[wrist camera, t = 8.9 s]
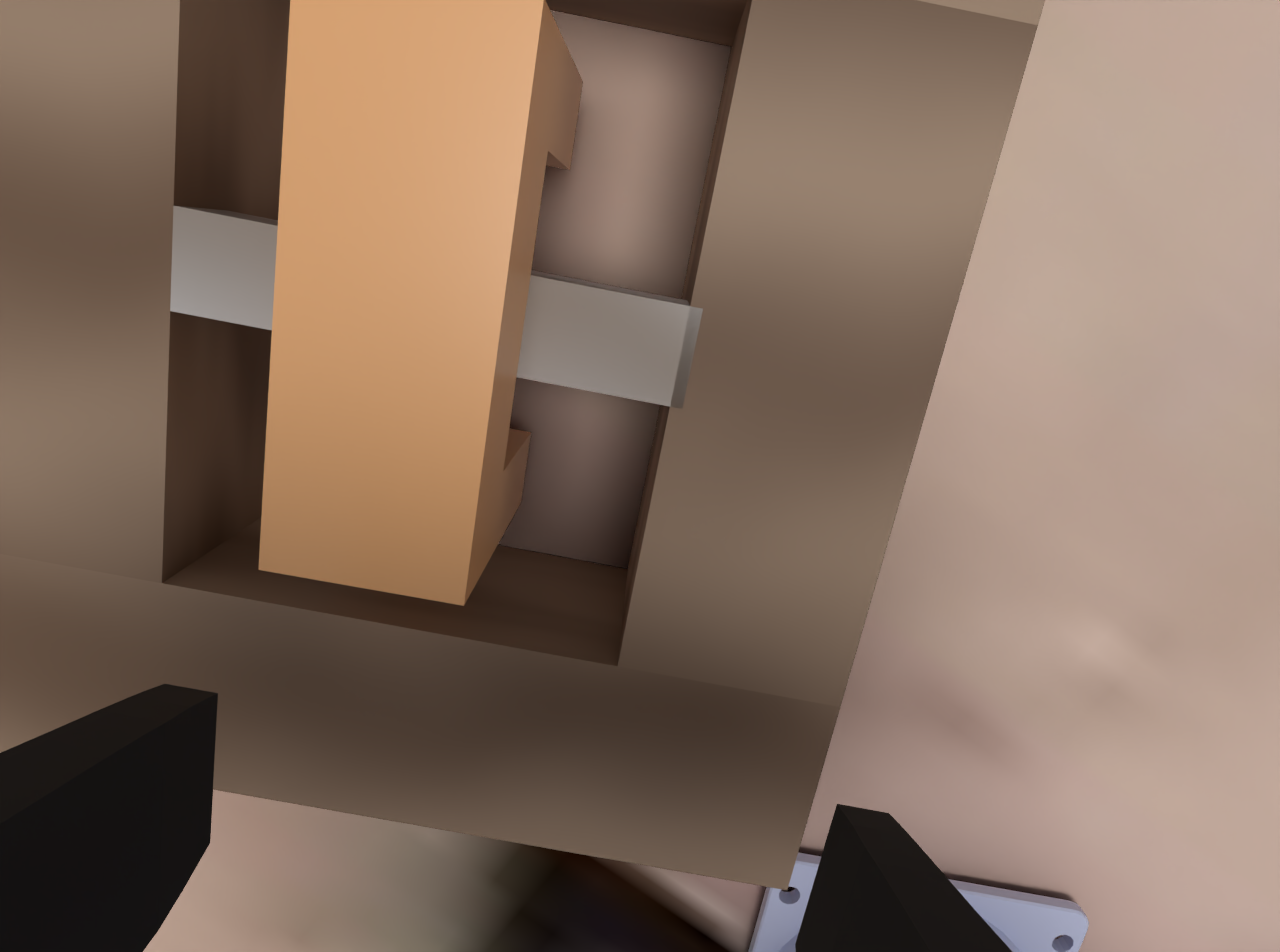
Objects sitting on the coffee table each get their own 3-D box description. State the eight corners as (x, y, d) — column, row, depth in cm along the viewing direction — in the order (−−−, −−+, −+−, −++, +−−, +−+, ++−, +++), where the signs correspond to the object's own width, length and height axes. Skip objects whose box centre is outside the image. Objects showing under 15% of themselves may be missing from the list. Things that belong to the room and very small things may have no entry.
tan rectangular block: (520, 502, 17) (463, 606, 12) (375, 476, 17) (257, 569, 12) (582, 81, 14) (544, -3, 10) (416, 49, 14) (292, -51, 10)
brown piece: (759, 749, 20) (787, 890, 15) (100, 631, 19) (-62, 741, 15) (996, -151, 15) (1137, -320, 10) (110, -339, 14) (-131, -597, 10)
